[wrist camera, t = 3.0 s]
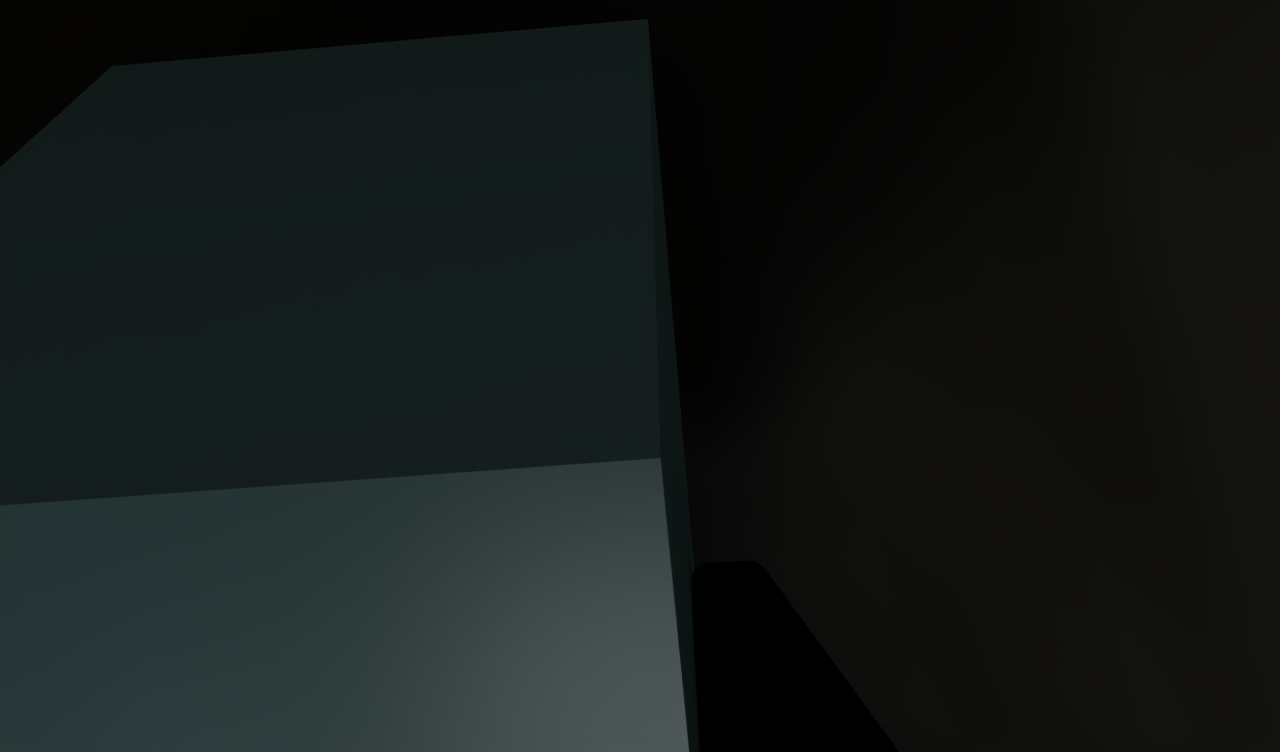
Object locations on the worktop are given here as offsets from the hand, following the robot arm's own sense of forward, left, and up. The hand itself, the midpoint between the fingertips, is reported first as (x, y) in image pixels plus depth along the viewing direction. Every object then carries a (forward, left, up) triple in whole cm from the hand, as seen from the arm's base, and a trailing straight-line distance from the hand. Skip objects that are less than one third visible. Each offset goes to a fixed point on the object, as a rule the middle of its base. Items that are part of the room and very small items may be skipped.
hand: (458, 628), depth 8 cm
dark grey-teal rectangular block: (0, +5, -1) cm, 5 cm away
